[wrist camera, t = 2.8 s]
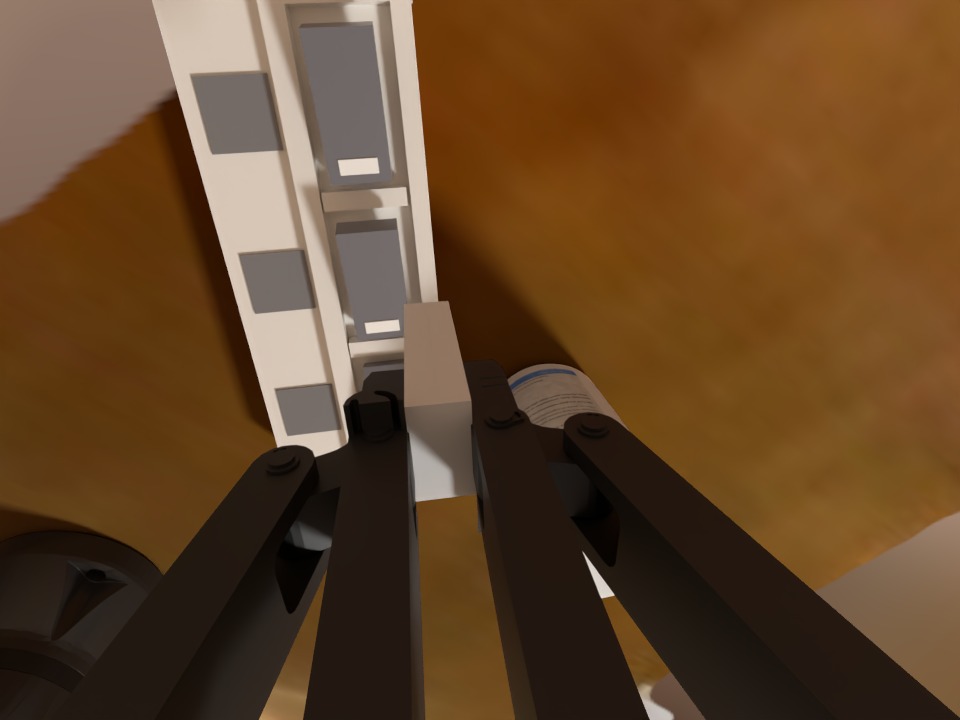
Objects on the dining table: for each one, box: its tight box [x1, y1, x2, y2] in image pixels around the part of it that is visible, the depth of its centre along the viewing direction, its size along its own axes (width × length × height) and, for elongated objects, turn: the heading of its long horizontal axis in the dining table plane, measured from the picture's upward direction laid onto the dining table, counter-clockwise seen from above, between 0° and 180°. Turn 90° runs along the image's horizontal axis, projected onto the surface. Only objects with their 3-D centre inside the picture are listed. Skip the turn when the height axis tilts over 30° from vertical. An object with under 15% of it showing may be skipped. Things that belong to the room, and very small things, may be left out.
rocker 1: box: [298, 21, 392, 186], centre depth 25 cm, size 3×7×2 cm, turn 3°
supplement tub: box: [508, 364, 630, 598], centre depth 35 cm, size 10×10×15 cm
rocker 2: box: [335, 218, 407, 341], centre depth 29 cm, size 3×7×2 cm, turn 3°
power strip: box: [152, 0, 438, 457], centre depth 33 cm, size 12×36×5 cm, turn 3°
